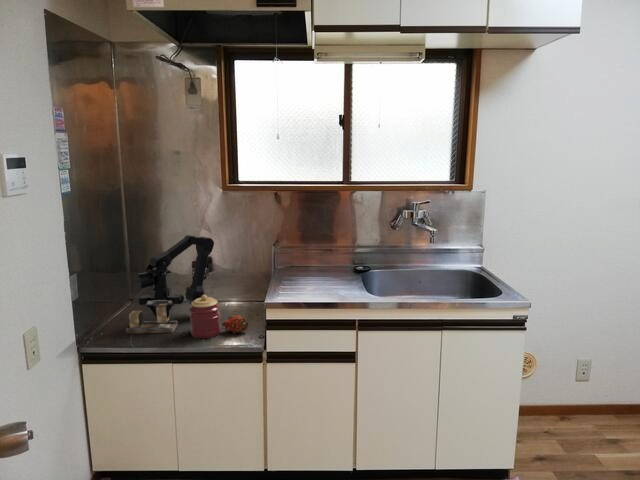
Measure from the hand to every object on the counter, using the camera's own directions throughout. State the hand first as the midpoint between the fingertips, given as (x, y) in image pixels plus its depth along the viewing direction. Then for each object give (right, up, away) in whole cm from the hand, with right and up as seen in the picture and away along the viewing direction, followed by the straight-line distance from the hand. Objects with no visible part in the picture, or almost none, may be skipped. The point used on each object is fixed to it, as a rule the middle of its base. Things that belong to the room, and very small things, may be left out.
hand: (162, 317), depth 204 cm
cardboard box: (0, -1, 0) cm, 1 cm away
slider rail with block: (-5, -5, +1) cm, 7 cm away
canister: (+20, -6, -4) cm, 22 cm away
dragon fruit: (+33, -6, -3) cm, 34 cm away
